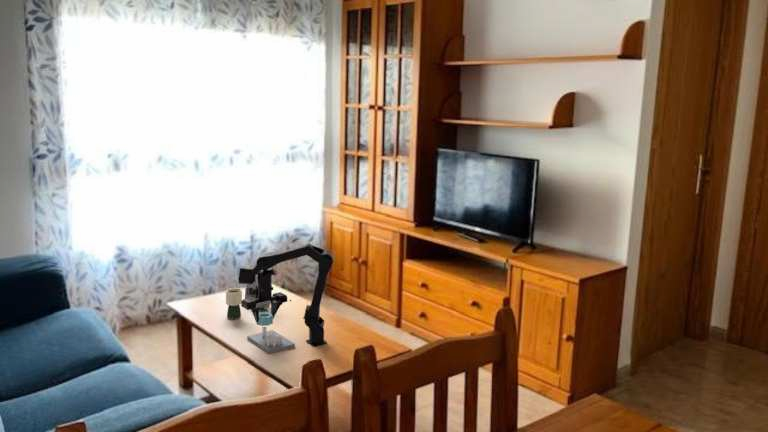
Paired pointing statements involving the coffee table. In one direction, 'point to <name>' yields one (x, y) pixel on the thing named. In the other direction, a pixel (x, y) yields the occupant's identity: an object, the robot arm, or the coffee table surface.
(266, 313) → the teal gear
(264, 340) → the gear board
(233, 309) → the character mug
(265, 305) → the decorative rock
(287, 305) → the coffee table surface
